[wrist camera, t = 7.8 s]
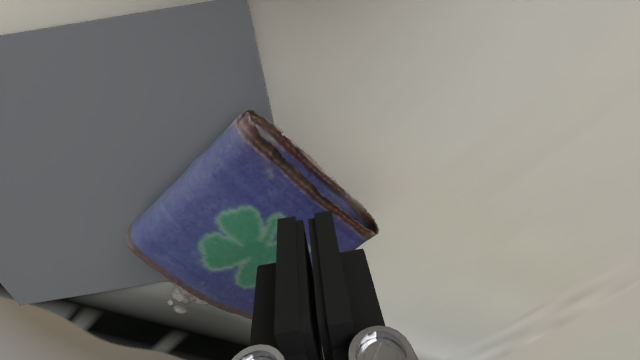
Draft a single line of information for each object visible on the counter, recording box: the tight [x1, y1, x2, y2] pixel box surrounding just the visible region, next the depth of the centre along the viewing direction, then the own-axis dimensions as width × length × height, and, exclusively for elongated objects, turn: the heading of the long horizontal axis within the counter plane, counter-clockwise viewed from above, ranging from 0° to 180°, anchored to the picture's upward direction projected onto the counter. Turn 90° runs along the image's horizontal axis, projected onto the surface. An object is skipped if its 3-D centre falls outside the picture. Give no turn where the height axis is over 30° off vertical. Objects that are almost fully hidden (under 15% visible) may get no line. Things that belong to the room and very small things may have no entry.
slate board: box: [0, 0, 274, 305], centre depth 18 cm, size 17×14×1 cm
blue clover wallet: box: [126, 108, 379, 319], centre depth 18 cm, size 9×3×11 cm
